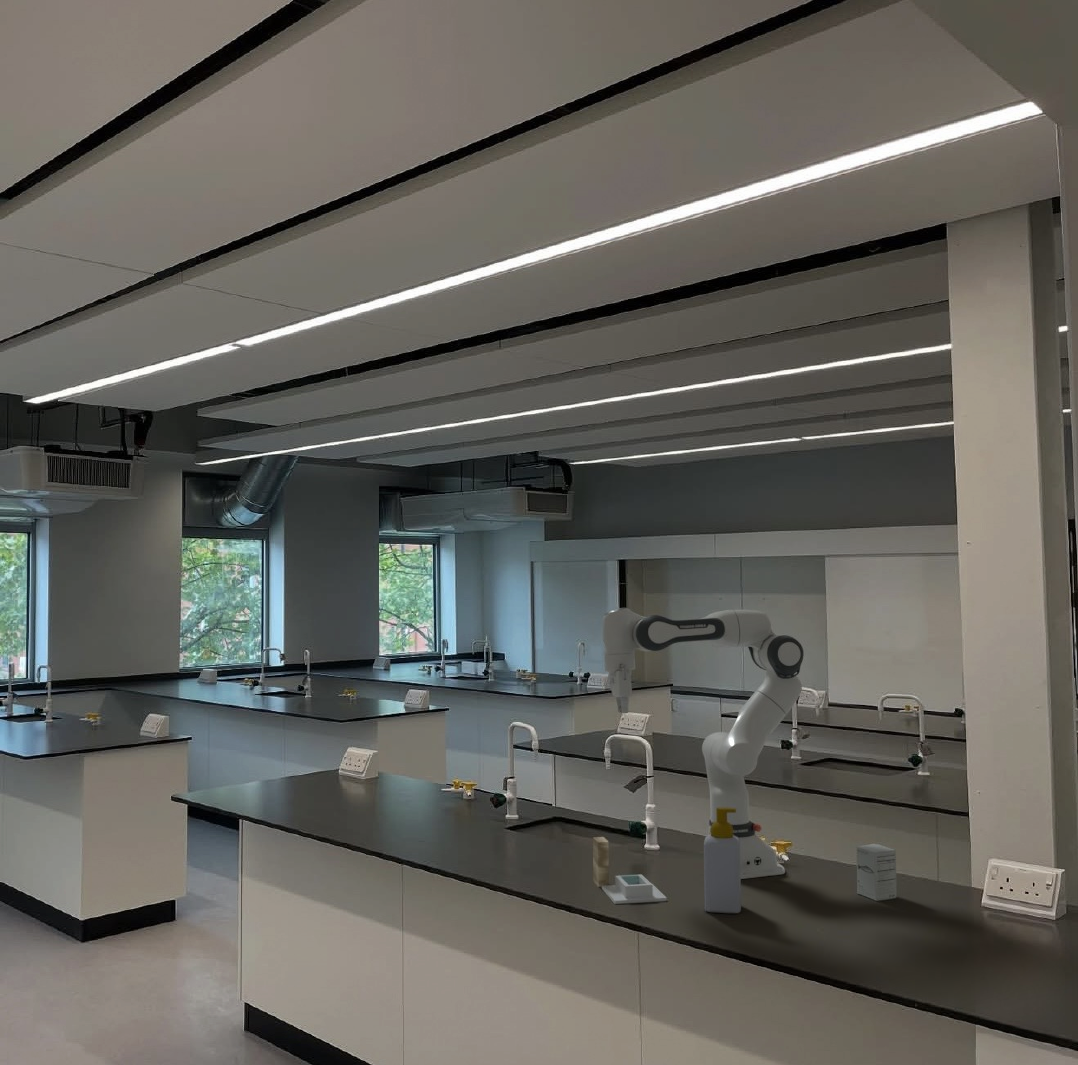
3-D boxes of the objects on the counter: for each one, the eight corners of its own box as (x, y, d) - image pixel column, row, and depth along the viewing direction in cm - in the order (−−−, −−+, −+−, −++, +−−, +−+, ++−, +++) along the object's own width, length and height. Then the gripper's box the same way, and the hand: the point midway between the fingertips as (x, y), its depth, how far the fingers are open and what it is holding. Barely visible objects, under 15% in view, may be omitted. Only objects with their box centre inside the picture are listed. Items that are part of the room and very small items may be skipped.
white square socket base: (651, 886, 280) (651, 872, 281) (666, 900, 267) (666, 886, 267) (601, 888, 278) (601, 874, 278) (614, 903, 264) (614, 888, 264)
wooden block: (603, 880, 286) (603, 836, 287) (608, 886, 280) (608, 841, 281) (593, 881, 286) (593, 837, 286) (598, 887, 280) (598, 842, 280)
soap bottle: (740, 915, 255) (739, 812, 256) (704, 913, 256) (703, 811, 258) (741, 904, 263) (739, 805, 265) (705, 902, 265) (704, 804, 267)
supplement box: (856, 894, 273) (855, 845, 273) (878, 890, 276) (877, 843, 276) (875, 901, 266) (874, 852, 267) (897, 898, 269) (896, 849, 270)
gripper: (635, 663, 285) (638, 713, 283) (626, 664, 306) (629, 711, 304) (612, 664, 285) (616, 714, 283) (605, 665, 305) (608, 712, 303)
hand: (623, 712), depth 294 cm, fingers open, 8 cm apart
